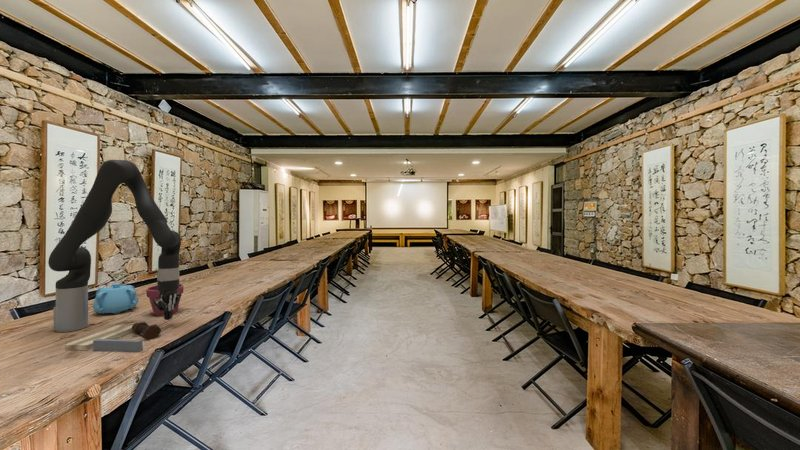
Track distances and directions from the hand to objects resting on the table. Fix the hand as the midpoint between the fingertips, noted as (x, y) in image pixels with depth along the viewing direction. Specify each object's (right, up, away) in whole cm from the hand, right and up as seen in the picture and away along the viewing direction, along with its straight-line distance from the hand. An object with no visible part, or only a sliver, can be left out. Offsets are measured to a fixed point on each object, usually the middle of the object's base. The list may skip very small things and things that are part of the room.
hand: (168, 319), depth 133 cm
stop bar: (0, -4, -23) cm, 24 cm away
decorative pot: (-40, -2, +21) cm, 45 cm away
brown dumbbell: (-3, -4, -9) cm, 10 cm away
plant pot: (-15, -3, +19) cm, 25 cm away
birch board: (-14, -3, -14) cm, 20 cm away
